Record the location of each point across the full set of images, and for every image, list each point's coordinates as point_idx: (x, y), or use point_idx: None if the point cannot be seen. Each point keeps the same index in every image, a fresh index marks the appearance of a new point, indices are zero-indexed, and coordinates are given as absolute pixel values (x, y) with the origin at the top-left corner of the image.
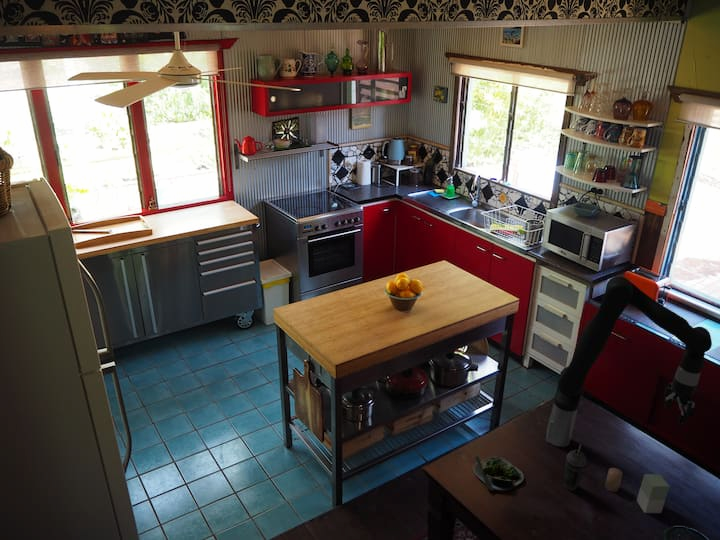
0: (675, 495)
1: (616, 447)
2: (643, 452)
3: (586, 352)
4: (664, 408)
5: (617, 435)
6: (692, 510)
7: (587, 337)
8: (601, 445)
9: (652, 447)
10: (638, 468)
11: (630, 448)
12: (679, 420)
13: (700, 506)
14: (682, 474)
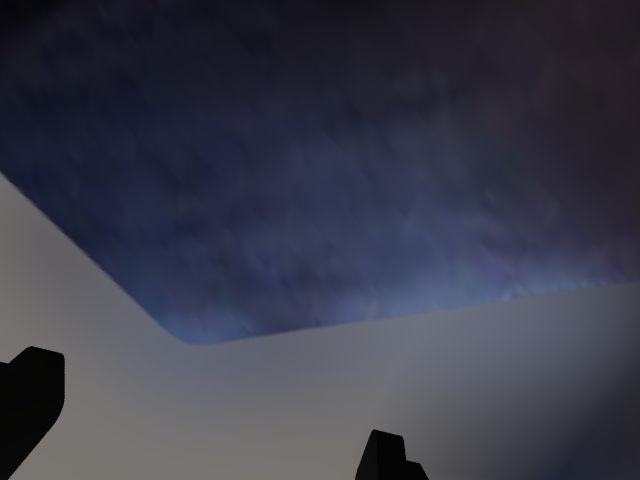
0: (140, 118)
1: (528, 108)
2: (433, 219)
3: None
4: (390, 434)
5: (596, 195)
6: (43, 114)
7: None
8: (586, 28)
9: (442, 289)
10: (349, 92)
11: (485, 179)
12: (8, 375)
13: (62, 173)
14: (250, 267)
